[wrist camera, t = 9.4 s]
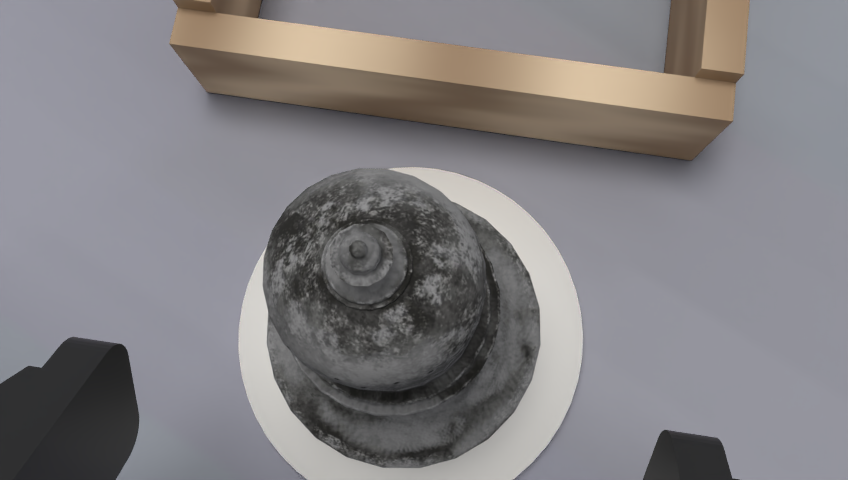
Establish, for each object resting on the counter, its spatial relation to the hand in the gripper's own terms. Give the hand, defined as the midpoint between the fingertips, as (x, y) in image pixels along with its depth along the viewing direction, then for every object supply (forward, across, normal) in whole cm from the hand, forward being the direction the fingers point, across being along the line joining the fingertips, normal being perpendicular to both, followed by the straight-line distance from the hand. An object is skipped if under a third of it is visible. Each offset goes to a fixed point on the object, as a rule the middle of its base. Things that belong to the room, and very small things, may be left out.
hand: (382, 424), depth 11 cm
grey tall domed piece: (+7, 0, +4) cm, 8 cm away
